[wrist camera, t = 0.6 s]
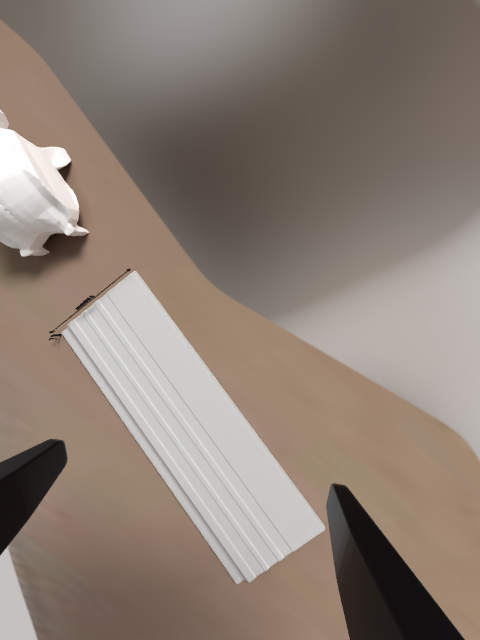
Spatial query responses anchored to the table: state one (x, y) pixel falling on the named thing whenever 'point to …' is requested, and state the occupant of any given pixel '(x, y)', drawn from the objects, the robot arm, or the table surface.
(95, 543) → the table surface
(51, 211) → the white lumpy figurine
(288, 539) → the baseboard molding
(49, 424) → the table surface
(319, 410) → the table surface
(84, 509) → the table surface
